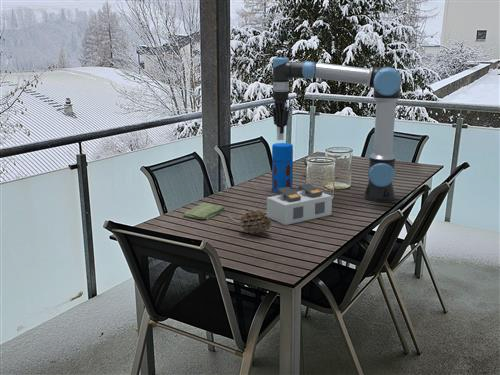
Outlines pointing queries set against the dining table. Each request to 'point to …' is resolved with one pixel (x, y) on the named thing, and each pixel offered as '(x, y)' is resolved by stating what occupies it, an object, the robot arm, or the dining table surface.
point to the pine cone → (253, 222)
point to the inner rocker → (310, 190)
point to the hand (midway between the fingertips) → (280, 139)
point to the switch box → (298, 208)
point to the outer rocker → (289, 194)
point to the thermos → (282, 166)
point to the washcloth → (204, 211)
